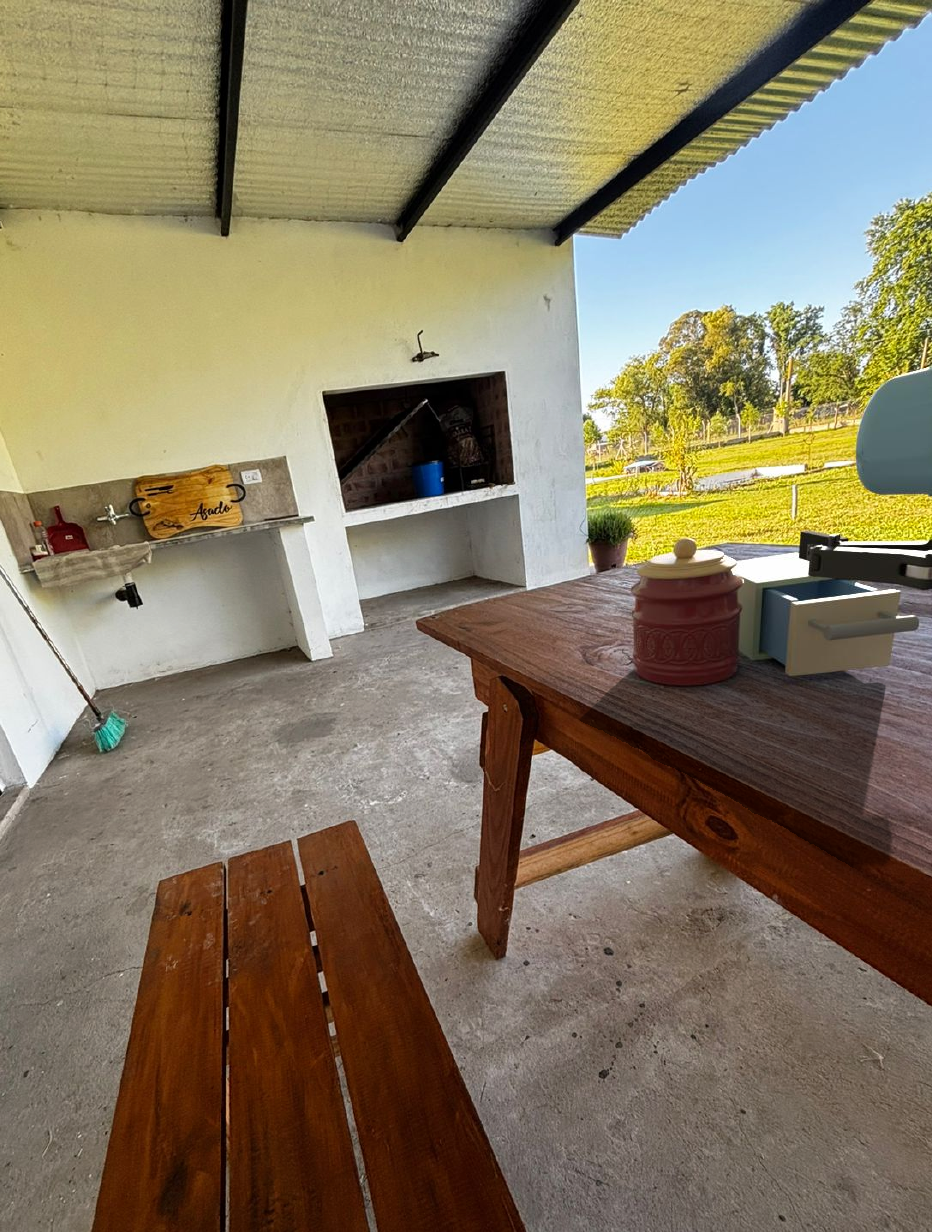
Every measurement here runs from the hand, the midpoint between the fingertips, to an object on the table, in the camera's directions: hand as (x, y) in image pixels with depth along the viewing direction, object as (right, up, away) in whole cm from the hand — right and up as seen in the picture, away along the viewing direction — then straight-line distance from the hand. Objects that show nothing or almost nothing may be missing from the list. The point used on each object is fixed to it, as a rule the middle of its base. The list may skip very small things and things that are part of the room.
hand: (878, 533), depth 52 cm
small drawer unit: (+5, -9, +24) cm, 26 cm away
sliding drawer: (+4, -12, +13) cm, 18 cm away
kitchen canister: (-10, -13, +19) cm, 25 cm away
